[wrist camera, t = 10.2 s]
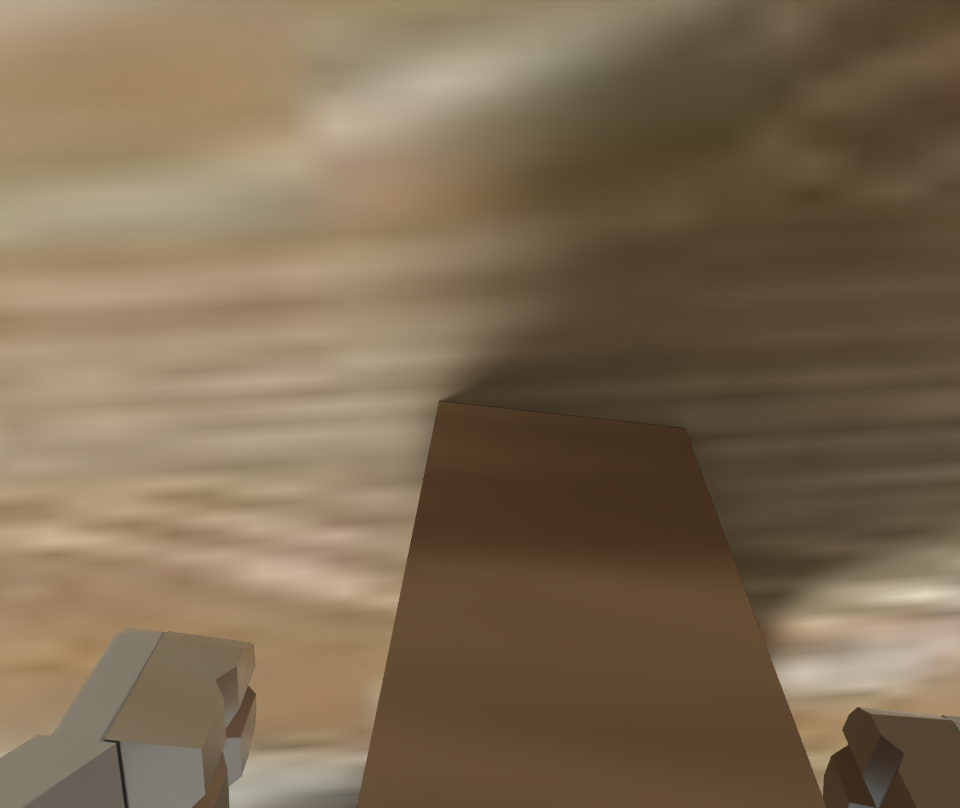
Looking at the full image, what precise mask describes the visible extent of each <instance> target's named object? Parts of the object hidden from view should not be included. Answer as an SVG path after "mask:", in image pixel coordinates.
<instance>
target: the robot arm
mask: <svg viewBox="0 0 960 808" xmlns="http://www.w3.org/2000/svg"><path fill="white" fill-rule="evenodd" d="M254 669H255V655H254V645H252V644H251V643H250V642H244V641H236V640H229V639H221V638H214V637H206V636H199V635H191V634H184V633H176V632H169V631H168V632H161V631H154V630H147V629H139V628H132V627H125V628H124V629H123V630H121V631H120V632H119V633H117V634H116V635H115V636H114V638H113V639H112V641H111V642H110V644H109V646H108V647H107V649H106V650H105V652H104V653H103V655H102V657H101V658H100V660H99V661H98V663H97V664H96V666H95V668H94V669H93V671H92V672H91V674H90V676H89V677H88V679H87V680H86V682H85V683H84V685H83V687H82V688H81V690H80V691H79V693H78V695H77V696H76V698H75V699H74V701H73V702H72V704H71V706H70V707H69V709H68V710H67V712H66V714H65V715H64V717H63V718H62V720H61V721H60V723H59V725H58V726H57V728H56V729H55V731H54V733H53V734H52V736H48V735H37V736H35V737H33V738H32V739H30V740H29V741H27V742H25V743H24V744H22V745H20V746H19V747H17V748H16V749H14V750H12V751H11V752H9V753H7V754H6V755H4V756H3V757H1V758H0V808H229V788H228V787H229V786H230V785H231V784H232V783H234V782H235V781H236V780H237V779H239V778H240V777H241V776H242V773H243V770H244V767H245V764H246V761H247V758H248V755H249V751H250V747H251V742H252V738H253V733H254V728H255V718H256V694H255V693H254V692H253V690H252V689H251V688H250V687H249V686H248V684H249V682H250V679H251V677H252V674H253V671H254ZM842 730H843V732H844V735H845V737H846V739H847V742H848V744H849V745H847V746H846V747H844V748H843V749H841V750H840V751H838V752H836V753H835V754H833V755H832V756H831V758H830V761H829V763H828V766H827V769H826V772H825V774H824V787H823V799H824V802H825V805H826V807H827V808H960V717H956V716H946V715H942V716H938V715H934V714H924V713H914V712H903V711H893V710H883V709H873V708H862V707H857V708H856V709H855V710H854V711H853V712H851V713H850V714H849V716H848V718H847V720H846V723H845V725H844V727H843V729H842Z"/></svg>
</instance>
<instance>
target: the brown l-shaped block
mask: <svg viewBox="0 0 960 808" xmlns="http://www.w3.org/2000/svg"><path fill="white" fill-rule="evenodd" d="M357 808H827V807H826V805H825V802H824V799H823V797H822V794H821V791H820V789H819V786H818V783H817V781H816V778H815V775H814V773H813V770H812V767H811V765H810V762H809V759H808V757H807V754H806V751H805V749H804V746H803V743H802V741H801V738H800V735H799V733H798V730H797V727H796V725H795V722H794V719H793V717H792V714H791V711H790V709H789V706H788V703H787V701H786V698H785V695H784V693H783V690H782V687H781V685H780V682H779V679H778V677H777V674H776V671H775V669H774V666H773V663H772V661H771V658H770V655H769V653H768V650H767V647H766V645H765V642H764V639H763V637H762V634H761V631H760V629H759V626H758V623H757V621H756V618H755V615H754V613H753V610H752V607H751V605H750V602H749V599H748V597H747V594H746V591H745V589H744V586H743V583H742V580H741V578H740V575H739V572H738V570H737V567H736V564H735V562H734V559H733V556H732V554H731V551H730V548H729V546H728V543H727V540H726V538H725V535H724V532H723V530H722V527H721V524H720V522H719V519H718V516H717V514H716V511H715V508H714V506H713V503H712V500H711V498H710V495H709V492H708V490H707V487H706V484H705V482H704V479H703V476H702V474H701V471H700V468H699V466H698V463H697V460H696V458H695V455H694V452H693V450H692V447H691V444H690V442H689V439H688V436H687V434H686V431H685V428H676V427H667V426H658V425H649V424H640V423H631V422H622V421H613V420H604V419H595V418H586V417H577V416H568V415H559V414H551V413H542V412H533V411H524V410H515V409H506V408H497V407H488V406H479V405H470V404H461V403H452V402H443V401H439V405H438V409H437V414H436V419H435V424H434V429H433V434H432V439H431V444H430V449H429V454H428V459H427V464H426V469H425V474H424V479H423V484H422V489H421V494H420V499H419V504H418V509H417V514H416V519H415V524H414V529H413V533H412V538H411V543H410V548H409V553H408V558H407V563H406V568H405V573H404V578H403V583H402V588H401V593H400V598H399V603H398V608H397V613H396V618H395V623H394V628H393V633H392V638H391V643H390V648H389V653H388V657H387V662H386V667H385V672H384V677H383V682H382V687H381V692H380V697H379V702H378V707H377V712H376V717H375V722H374V727H373V732H372V737H371V742H370V747H369V752H368V757H367V762H366V767H365V772H364V776H363V781H362V786H361V791H360V796H359V801H358V806H357Z"/></svg>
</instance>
